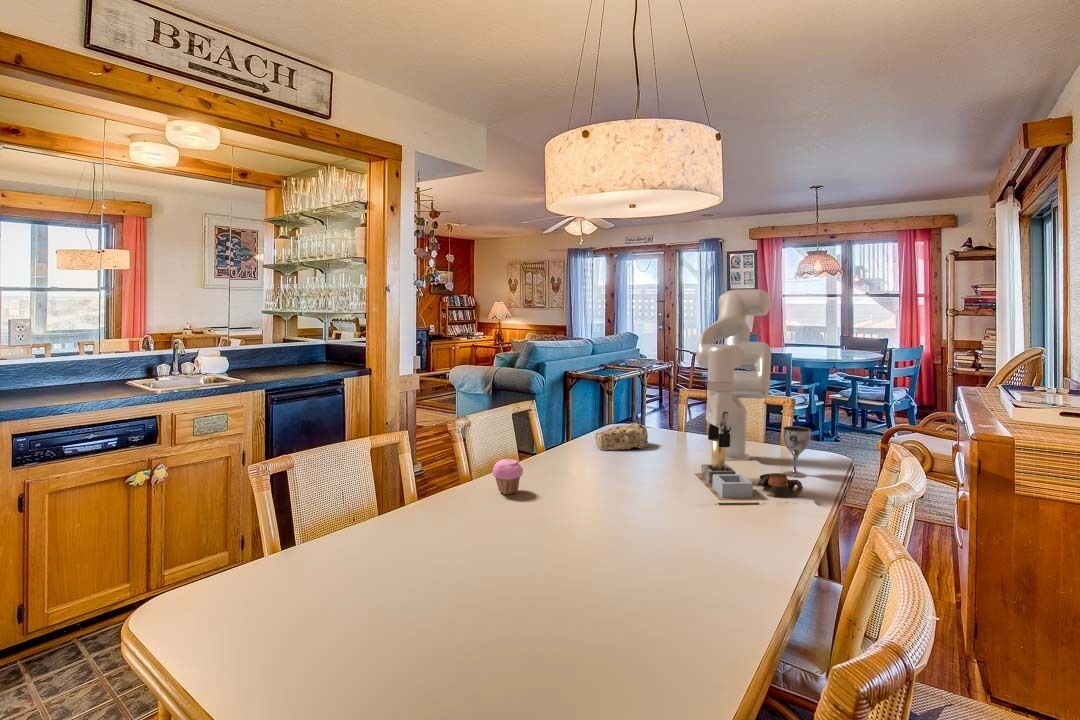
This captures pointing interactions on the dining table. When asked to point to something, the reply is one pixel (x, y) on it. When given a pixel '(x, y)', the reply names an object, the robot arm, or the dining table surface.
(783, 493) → the pottery mug
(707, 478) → the tool board
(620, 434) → the rock
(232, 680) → the dining table surface
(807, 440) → the wine glass
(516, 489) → the cupcake
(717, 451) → the brass cylinder
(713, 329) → the robot arm
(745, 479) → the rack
